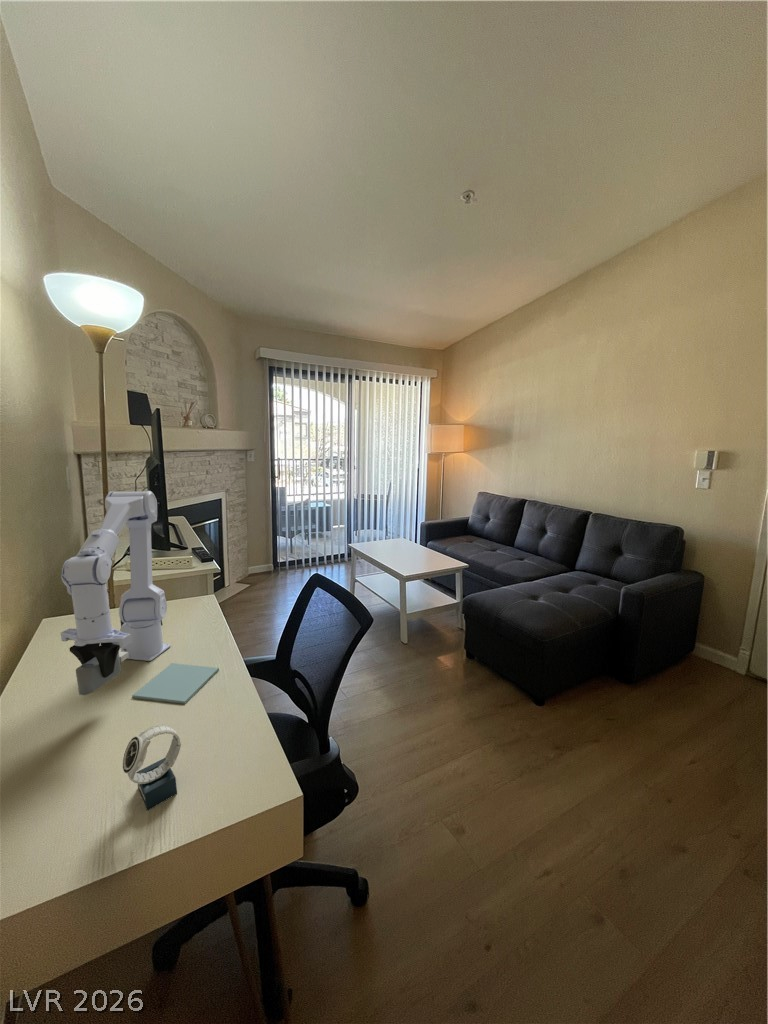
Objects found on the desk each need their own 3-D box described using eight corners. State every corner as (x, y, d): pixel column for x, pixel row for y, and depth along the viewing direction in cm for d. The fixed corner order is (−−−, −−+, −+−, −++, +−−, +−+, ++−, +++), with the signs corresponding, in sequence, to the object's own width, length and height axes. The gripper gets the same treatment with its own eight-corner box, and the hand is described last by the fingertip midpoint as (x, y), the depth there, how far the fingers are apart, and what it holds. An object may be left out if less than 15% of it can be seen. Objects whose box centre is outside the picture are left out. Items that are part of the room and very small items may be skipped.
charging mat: (132, 697, 87) (132, 695, 87) (172, 665, 100) (171, 663, 100) (185, 703, 86) (185, 701, 85) (218, 670, 98) (218, 667, 98)
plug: (75, 694, 78) (71, 671, 77) (119, 663, 89) (117, 643, 88) (88, 695, 78) (84, 672, 77) (131, 665, 88) (129, 644, 87)
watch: (124, 795, 63) (116, 736, 61) (177, 767, 69) (172, 711, 67) (132, 819, 59) (124, 756, 57) (188, 787, 65) (183, 728, 63)
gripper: (42, 619, 77) (52, 681, 79) (107, 624, 75) (115, 689, 77) (75, 604, 84) (83, 662, 86) (135, 609, 81) (142, 668, 84)
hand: (100, 673), depth 82 cm, fingers closed on plug, 3 cm apart
